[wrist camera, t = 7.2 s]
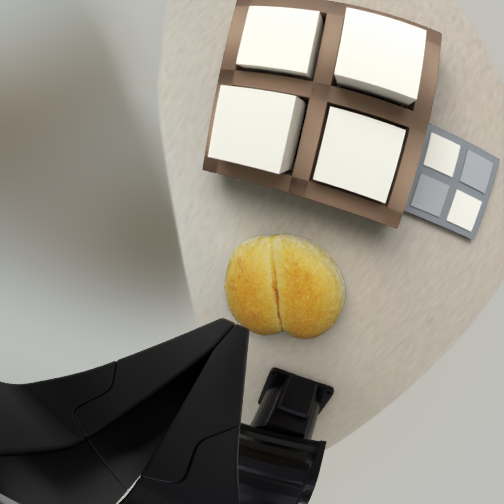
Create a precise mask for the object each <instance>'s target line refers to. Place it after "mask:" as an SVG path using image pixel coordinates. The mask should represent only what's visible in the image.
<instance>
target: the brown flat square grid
mask: <svg viewBox="0 0 504 504" xmlns="http://www.w3.org/2000/svg"><path fill="white" fill-rule="evenodd" d="M249 6H270V7H285V8H296V9H305V10H313V11H320V14H321V17H322V20H323V22H324V25H325V26H324V32H323V37H322V42H321V46H320V51H319V56H318V61H317V66H316V71H315V75H314V80H313V82H312V81H308V80H302V79H297V78H291V77H286V76H279V75H273V74H265V73H257V72H250V71H248V70H246V69H245V68H243V67H241V66H239V65H237V64H236V60H237V56H238V51H239V47H240V43H241V38H242V34H243V30H244V26H245V22H246V17H247V13H248V9H249ZM347 7H348V8H353V9H358V10H362V11H366V12H370V13H374V14H378V15H382V16H385V17H388V18H392V19H395V20H398V21H401V22H404V23H407V24H410V25H413V26H416V27H419V28H421V29H424V30H426V41H425V50H424V58H423V65H422V72H421V78H420V84H419V90H418V95H417V100H415V101H414V102H413V103H411V104H410V105H408V109H406V108H403V107H401V106H398V105H395V104H392V103H389V102H386V101H383V100H380V99H377V98H374V97H371V96H368V95H364V94H361V93H357V92H354V91H350V90H346V89H343V88H339V87H336V82H337V81H336V78H335V75H334V72H335V67H336V62H337V57H338V52H339V46H340V41H341V36H342V31H343V25H344V19H345V14H346V8H347ZM441 37H442V33H440V32H437V31H435V30H432V29H430V28H427V27H425V26H422V25H420V24H417V23H414V22H411V21H408V20H405V19H402V18H399V17H396V16H393V15H390V14H386V13H383V12H379V11H375V10H371V9H367V8H363V7H359V6H354V5H349V4H344V3H339V2H333V1H327V0H237V3H236V6H235V10H234V14H233V18H232V22H231V26H230V30H229V34H228V38H227V43H226V47H225V51H224V56H223V60H222V65H221V70H220V74H219V79H218V84H217V89H216V94H215V99H214V105H213V110H212V116H211V121H210V127H209V133H208V139H207V145H206V151H205V157H204V164H203V170H205V171H209V172H214V173H218V174H222V175H226V176H230V177H234V178H237V179H241V180H245V181H249V182H253V183H256V184H260V185H264V186H267V187H271V188H274V189H278V190H281V191H285V192H288V193H291V194H295V195H298V196H301V197H305V198H308V199H311V200H314V201H318V202H321V203H324V204H327V205H330V206H333V207H336V208H339V209H342V210H345V211H348V212H351V213H354V214H357V215H360V216H363V217H366V218H369V219H371V220H374V221H377V222H380V223H382V224H385V225H388V226H391V227H393V228H396V229H397V228H398V225H399V223H400V220H401V217H402V214H403V211H404V208H405V206H406V203H407V200H408V196H409V193H410V190H411V187H412V184H413V181H414V177H415V174H416V170H417V167H418V163H419V160H420V156H421V152H422V148H423V144H424V140H425V136H426V132H427V128H428V123H429V119H430V114H431V109H432V104H433V98H434V93H435V87H436V80H437V73H438V66H439V58H440V49H441ZM221 85H226V86H236V87H244V88H252V89H259V90H265V91H272V92H278V93H283V94H289V95H294V96H297V97H298V98H300V99H301V100H304V101H308V102H309V103H308V108H307V113H306V117H305V122H304V126H303V130H302V135H301V139H300V144H299V148H298V152H297V157H296V161H295V165H294V170H291V169H290V170H287V171H285V172H283V173H280V174H277V173H273V172H269V171H266V170H262V169H258V168H254V167H250V166H246V165H242V164H238V163H233V162H229V161H225V160H220V159H216V158H211V157H208V152H209V146H210V140H211V134H212V128H213V123H214V117H215V112H216V106H217V101H218V96H219V91H220V86H221ZM330 106H331V107H335V108H339V109H342V110H346V111H349V112H353V113H356V114H360V115H363V116H366V117H369V118H372V119H376V120H379V121H382V122H384V123H387V124H390V125H393V126H396V127H399V128H401V129H404V130H406V132H405V136H404V140H403V144H402V148H401V152H400V155H399V159H398V163H397V166H396V170H395V173H394V177H393V180H392V184H391V187H390V190H389V193H388V196H387V200H386V203H383V202H381V201H378V200H375V199H372V198H369V197H366V196H364V195H361V194H358V193H355V192H352V191H349V190H346V189H343V188H340V187H336V186H333V185H330V184H327V183H324V182H320V181H317V180H314V179H313V177H314V173H315V169H316V165H317V161H318V157H319V153H320V148H321V144H322V140H323V136H324V132H325V127H326V123H327V119H328V114H329V110H330Z"/></svg>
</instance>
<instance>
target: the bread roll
mask: <svg viewBox="0 0 504 504" xmlns="http://www.w3.org/2000/svg"><path fill="white" fill-rule="evenodd" d="M224 288H225V291H226V300H227V306H228V308H229V310H230V311H231V313H232V314H233V316H234V317H235V319H236V320H237V321H238V322H239V323H240V324H241V325H243V326H244V327H246V328H248V329H249V330H250V331H252V332H254V333H257V334H260V335H271V334H276V333H278V332H281V331H285V332H287V333H289V334H290V335H292V336H294V337H297V338H301V339H308V338H313V337H316V336H319V335H321V334H323V333H324V332H326V331H327V330H328V329H329V328H330V327H331V326H332V325H333V324H334V323H335V321H336V320H337V318H338V316H339V315H340V313H341V311H342V308H343V306H344V302H345V283H344V279H343V277H342V275H341V273H340V271H339V269H338V267H337V265H336V263H335V262H334V260H333V259H332V257H331V256H330V255H329V254H328V253H327V252H326V251H325V250H324V249H323V248H322V247H320V246H319V245H318V244H316V243H314V242H312V241H310V240H309V239H306V238H303V237H300V236H296V235H291V234H278V235H261V236H257V237H254V238H251V239H249V240H246V241H245V242H243V243H241V244H240V245H239V246H238V247H236V248H235V250H234V252H233V254H232V257H231V259H230V262H229V265H228V269H227V274H226V279H225V286H224Z"/></svg>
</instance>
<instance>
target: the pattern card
mask: <svg viewBox="0 0 504 504" xmlns="http://www.w3.org/2000/svg"><path fill="white" fill-rule="evenodd" d="M499 160H500V159H498V158H496V157H495V156H493V155H491V154H490V153H488V152H486V151H484V150H482V149H481V148H479V147H477V146H475V145H473V144H471V143H469V142H468V141H466V140H464V139H462V138H460V137H458V136H455V135H453V134H451V133H449V132H447V131H445V130H443V129H440V128H438V127H436V126H434V125H431V124H429V123H428V128H427V132H426V136H425V140H424V144H423V148H422V152H421V156H420V160H419V163H418V167H417V170H416V174H415V177H414V181H413V184H412V187H411V190H410V193H409V196H408V200H407V203H406V206H405V208H404V211H406V212H409V213H411V214H414V215H416V216H419V217H421V218H424V219H426V220H429V221H431V222H433V223H436V224H438V225H440V226H443V227H445V228H447V229H450V230H452V231H454V232H456V233H459V234H461V235H463V236H465V237H467V238H470V239H472V240H474V237H475V235H476V232H477V230H478V227H479V225H480V222H481V219H482V217H483V214H484V211H485V208H486V205H487V202H488V199H489V196H490V193H491V189H492V186H493V183H494V179H495V175H496V172H497V168H498V164H499Z"/></svg>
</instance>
